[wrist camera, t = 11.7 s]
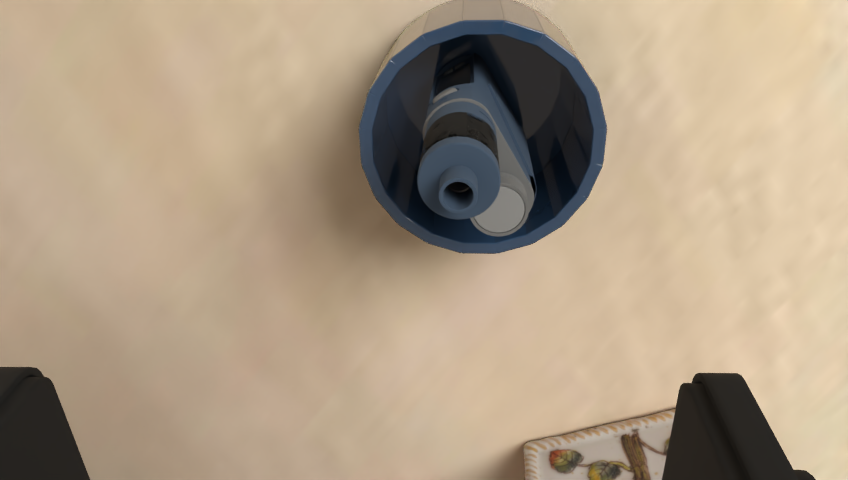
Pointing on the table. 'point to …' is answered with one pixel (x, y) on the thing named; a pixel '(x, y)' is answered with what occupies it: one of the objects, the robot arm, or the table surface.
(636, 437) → the decorative jar
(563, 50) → the pen cup
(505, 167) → the vaping device
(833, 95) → the table surface
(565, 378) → the table surface
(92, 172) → the table surface
